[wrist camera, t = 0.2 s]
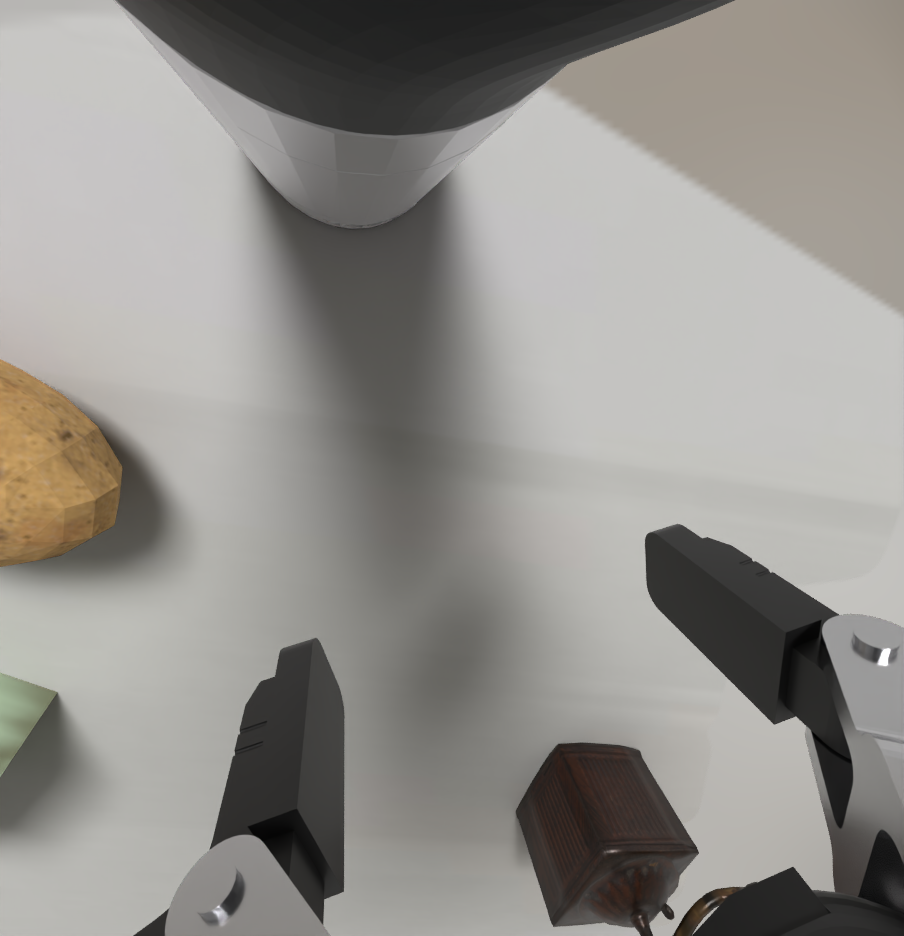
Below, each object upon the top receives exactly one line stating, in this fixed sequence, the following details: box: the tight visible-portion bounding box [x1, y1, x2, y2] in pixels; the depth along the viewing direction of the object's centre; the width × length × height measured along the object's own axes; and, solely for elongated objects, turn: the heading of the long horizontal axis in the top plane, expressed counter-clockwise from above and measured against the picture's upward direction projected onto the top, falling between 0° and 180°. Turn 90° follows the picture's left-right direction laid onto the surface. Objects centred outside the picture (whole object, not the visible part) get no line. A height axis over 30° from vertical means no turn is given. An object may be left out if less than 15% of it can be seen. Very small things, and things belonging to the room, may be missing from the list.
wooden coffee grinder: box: [516, 743, 757, 936], centre depth 37 cm, size 16×11×18 cm
